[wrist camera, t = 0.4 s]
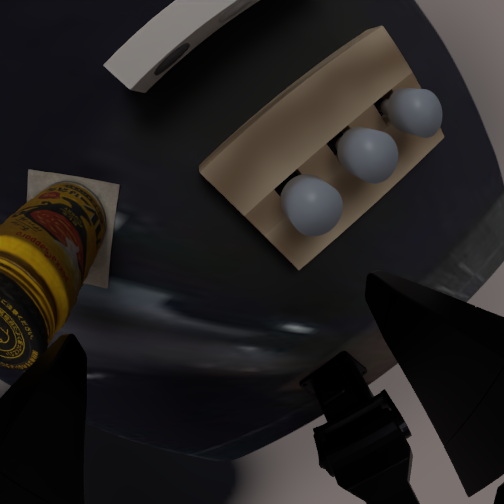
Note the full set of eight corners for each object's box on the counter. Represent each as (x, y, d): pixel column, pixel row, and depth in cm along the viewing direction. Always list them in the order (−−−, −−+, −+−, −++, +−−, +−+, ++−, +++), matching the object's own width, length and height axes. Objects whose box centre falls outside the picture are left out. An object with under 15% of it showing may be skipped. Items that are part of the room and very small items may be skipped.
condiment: (120, 183, 19) (52, 284, 8) (108, 287, 22) (74, 417, 12) (30, 168, 16) (-81, 245, 6) (29, 270, 20) (-35, 379, 9)
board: (428, 132, 21) (444, 137, 19) (290, 257, 24) (298, 270, 22) (367, 29, 16) (382, 25, 14) (198, 165, 19) (199, 172, 17)
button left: (323, 189, 20) (352, 211, 16) (290, 218, 20) (312, 246, 17) (296, 156, 18) (323, 171, 15) (261, 188, 19) (279, 210, 15)
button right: (409, 113, 18) (448, 121, 15) (383, 136, 19) (421, 147, 15) (389, 79, 17) (428, 80, 13) (362, 101, 17) (399, 105, 14)
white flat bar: (307, -25, 14) (338, -51, 9) (146, 94, 16) (132, 91, 12) (287, -45, 13) (313, -75, 8) (124, 73, 15) (103, 65, 11)
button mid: (369, 148, 19) (405, 162, 15) (339, 175, 19) (371, 194, 16) (347, 114, 17) (382, 120, 14) (314, 141, 18) (343, 153, 15)
